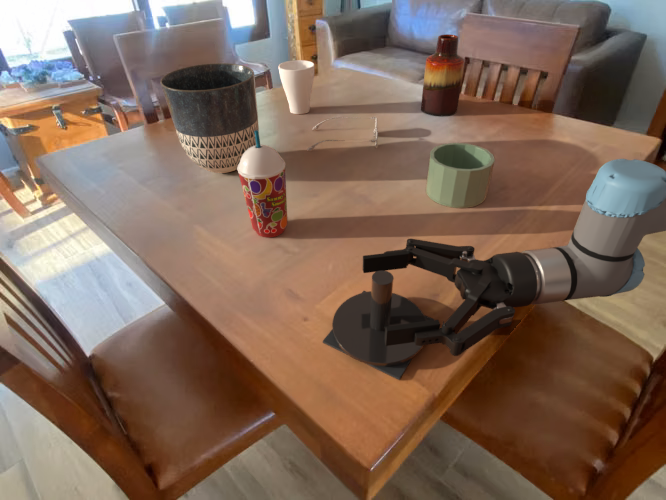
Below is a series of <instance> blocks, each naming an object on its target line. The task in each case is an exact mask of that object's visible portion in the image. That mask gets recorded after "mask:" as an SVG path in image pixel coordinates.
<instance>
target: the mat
mask: <svg viewBox="0 0 666 500" xmlns="http://www.w3.org/2000/svg"><path fill="white" fill-rule="evenodd" d="M364 292H367V291H366V290H363V291H362V292H361V293H364ZM424 316H425V318H426V321H431V320H435V318H433V317H430V316H428V315H425V314H424ZM322 344H324V345H327V346H328V347H331V348H332V349H334V350H336V351H339V352H341V353H343V354H345V355H347V356H349V355H348V354H346V353H345V352H344V351H343V350H342V349H341V348H340V346H339V345H338V344H337V342H336V340H335V337H334V335H333V328H332V329H331V330H329V332H328V333H327V334H326V336H325V337H324V338H323V340H322ZM412 360H413V358H411V359H409V360H407V361H405V362H402V363H399V364H396V365H389V366H377V365H370V364H366V363H364V364H366V365H367V366H369V367H371V368H373V369H375V370H377V371H379V372H381V373H384V374H386V375H387V376H389V377H392V378H393V379H395V380H397V381H400V380H401V379H402V377H403V375H404V373H405V372H406V370H407V369H408V366H409V365H410V363H411V361H412Z"/></svg>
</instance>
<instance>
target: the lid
mask: <svg viewBox="0 0 666 500" xmlns="http://www.w3.org/2000/svg"><path fill="white" fill-rule="evenodd" d="M393 288H394V276H393V274H392V273H391V272H390V271H389V270H386V271H383V270H381V271H377V272H373V273H372V275H371V288H370V290H371V291H366V292H364V293H362V292H360V293H358V294H355V295H352V296H351V297H349V298H347V299H345V300H344V301H343V302H342V303H341V304H340V305H339V306H338V308H337V309H336V311H335V313H334V315H333V319H332V323H331V324H332V329H333V335H334V337H335V340H336V342H337V344H338V345H339V346H340V348H341V349H342V350H343V351H344V352H345V353H346V354H345V353H344V354H345V355H347V354H348V355H347V356H349V357H350V358H352V359H354V360H356V361H358V362H360V363H363V364H365V363H366V365H367V364H370V365H377V366H389V365H396V364H399V363H402V362H405V361H407V360H409V359H411V358H412V359H414V357H415V356H416V355H418V354H419V353H420V352H421V351H422V349H424V346H425V345H423V346H418V345H415V342H412V343H404V344H397V345H390V346H386V344H385V328H386V326H393V325H401V324H408V323H416V322H423V321H426V318H425V316H426V315H425V313H424V312H423V311H422V310H421V308H420V307H419V306H417V304H416V303H414V302H413V301H412V300H411V299H409V298H407V297H405V296H404V295H403V296H402V295H400V294H398V293H394V292H393ZM424 315H425V316H424Z"/></svg>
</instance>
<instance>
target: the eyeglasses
mask: <svg viewBox="0 0 666 500" xmlns="http://www.w3.org/2000/svg"><path fill="white" fill-rule="evenodd" d="M333 119H360V117H354V116H353V117H346V116H345V117H344V116H343V117H342V116H340V117H339V116H338V117H336V116H335V117H331V118H327V119H324V120H322V121H320V122H319V123H317V124H316V125H314V126H313V127H312V131H317V130H318V129H319V128H320V126H321V125H322V124H323V123H325V122H327V121H329V120H333ZM370 120H374V129H373V137H375V139H371V140H370V142H371V143H375V149H377V148H378V139H379V138H378V137H379V131H378V118H377V116H371V117H370ZM325 142H344V139H343V140H341V139H340V140H339V139H325V140H321V141H319V142H316V143H314V144H312V145H311V146H309V147H308V148H307V149H306V150H307V152H312V151H313V150H314V149H315V147H316V146H318V145H320V144H322V143H325Z"/></svg>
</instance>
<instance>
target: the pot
mask: <svg viewBox="0 0 666 500" xmlns="http://www.w3.org/2000/svg"><path fill="white" fill-rule="evenodd" d="M428 158H429V159H428V165H427V167H428V168H427V174H426V175H427V176H426V182H425V193H426V195H427V197H428V198H429V199H430V200H431V201H433V202H434V203H437V204H438V205H441V206H444V207H448V208H454V209H468V208H474V207H477V206H479V205H481V204H482V203H483V202H484V201H485V200H486V198H487V196H488V192H489V188H490V183H491V181H492V174H493V171H494V166H495V161H496V160H495V156H494V154H493V153H492V152H490V151H489V149H486V148H484V147H482V146H479V145H478V144H477V145H476V144H473V143H466V142H448V143H442V144H440V145H437V146H434V148H433V149H431V150H430V152H429V157H428Z"/></svg>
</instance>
